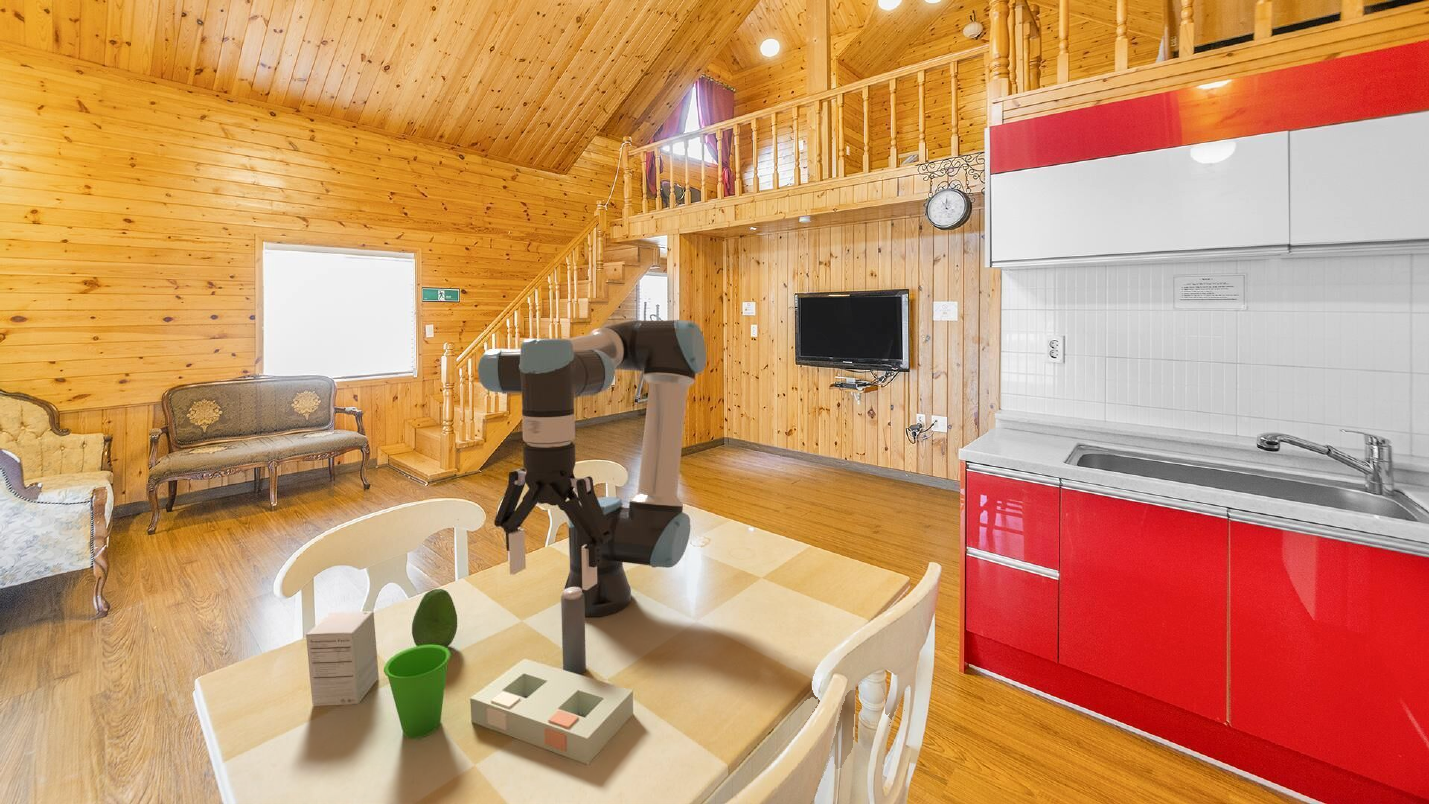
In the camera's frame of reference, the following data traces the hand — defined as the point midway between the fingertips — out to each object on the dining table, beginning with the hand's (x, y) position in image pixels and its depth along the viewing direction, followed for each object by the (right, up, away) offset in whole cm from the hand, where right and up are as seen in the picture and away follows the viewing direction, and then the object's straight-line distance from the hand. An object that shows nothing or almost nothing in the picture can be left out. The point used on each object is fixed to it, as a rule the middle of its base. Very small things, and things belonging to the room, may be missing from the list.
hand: (552, 578), depth 89 cm
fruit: (-28, -20, +22) cm, 41 cm away
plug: (0, -21, +16) cm, 26 cm away
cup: (-20, -23, 0) cm, 31 cm away
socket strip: (-1, -23, +3) cm, 23 cm away
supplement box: (-37, -22, +9) cm, 44 cm away
